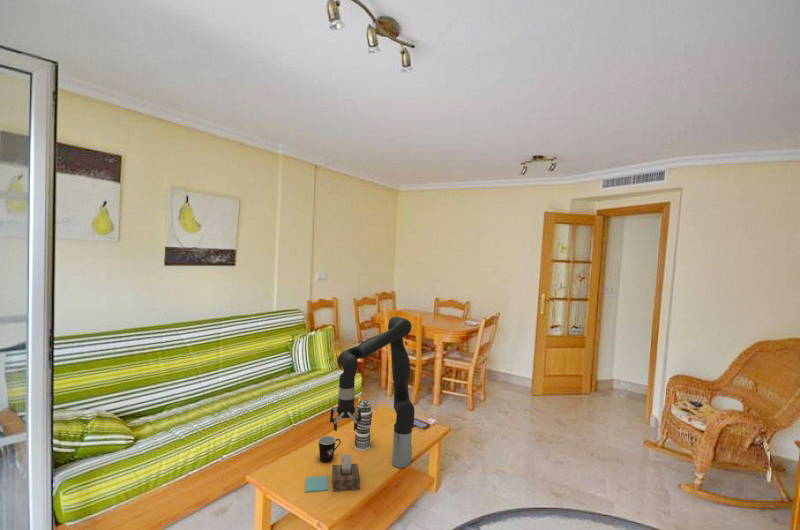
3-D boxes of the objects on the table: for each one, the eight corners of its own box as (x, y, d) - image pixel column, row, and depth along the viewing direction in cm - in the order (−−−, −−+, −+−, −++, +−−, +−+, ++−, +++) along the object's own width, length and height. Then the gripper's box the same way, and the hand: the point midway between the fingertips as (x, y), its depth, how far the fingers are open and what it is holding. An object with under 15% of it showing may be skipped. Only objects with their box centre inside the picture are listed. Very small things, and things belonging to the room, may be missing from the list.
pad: (327, 476, 174) (327, 475, 174) (328, 490, 164) (328, 489, 164) (306, 478, 172) (306, 477, 172) (305, 492, 162) (305, 491, 162)
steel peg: (349, 479, 173) (350, 454, 173) (350, 484, 169) (351, 459, 169) (340, 479, 172) (342, 454, 172) (341, 485, 168) (342, 459, 168)
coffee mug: (318, 465, 183) (319, 445, 183) (317, 455, 191) (318, 436, 191) (341, 462, 186) (342, 443, 186) (339, 453, 195) (340, 434, 194)
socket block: (357, 473, 178) (357, 463, 178) (359, 489, 166) (360, 478, 166) (332, 475, 175) (332, 465, 175) (332, 491, 164) (333, 480, 163)
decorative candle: (362, 453, 196) (365, 407, 195) (350, 446, 202) (352, 401, 201) (374, 446, 203) (376, 401, 202) (361, 440, 209) (364, 397, 208)
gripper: (361, 392, 175) (360, 426, 175) (331, 392, 173) (330, 426, 174) (362, 399, 167) (360, 434, 168) (330, 399, 165) (329, 434, 166)
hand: (345, 430), depth 171 cm, fingers open, 8 cm apart
